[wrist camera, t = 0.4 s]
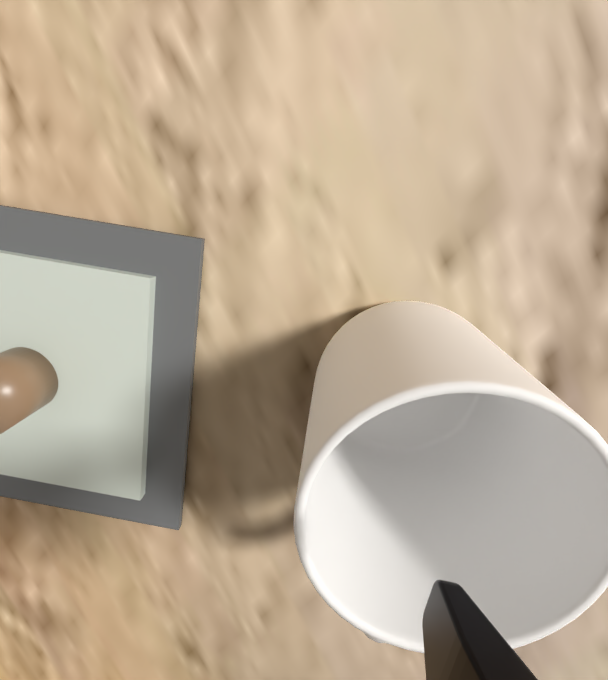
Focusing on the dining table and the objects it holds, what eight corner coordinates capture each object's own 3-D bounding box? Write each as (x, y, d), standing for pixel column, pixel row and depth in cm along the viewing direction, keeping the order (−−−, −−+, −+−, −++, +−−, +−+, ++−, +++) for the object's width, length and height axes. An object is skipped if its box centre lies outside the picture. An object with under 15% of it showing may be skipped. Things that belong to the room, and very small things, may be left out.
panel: (145, 493, 23) (111, 542, 20) (-65, 454, 24) (-134, 495, 20) (155, 276, 20) (116, 289, 16) (-92, 234, 20) (-181, 238, 17)
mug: (431, 531, 23) (500, 772, 13) (282, 492, 23) (238, 702, 13) (517, 321, 19) (701, 435, 9) (340, 276, 19) (340, 342, 9)
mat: (181, 525, 24) (178, 530, 24) (-88, 473, 25) (-95, 478, 24) (204, 238, 19) (201, 239, 19) (-129, 183, 20) (-139, 183, 20)
